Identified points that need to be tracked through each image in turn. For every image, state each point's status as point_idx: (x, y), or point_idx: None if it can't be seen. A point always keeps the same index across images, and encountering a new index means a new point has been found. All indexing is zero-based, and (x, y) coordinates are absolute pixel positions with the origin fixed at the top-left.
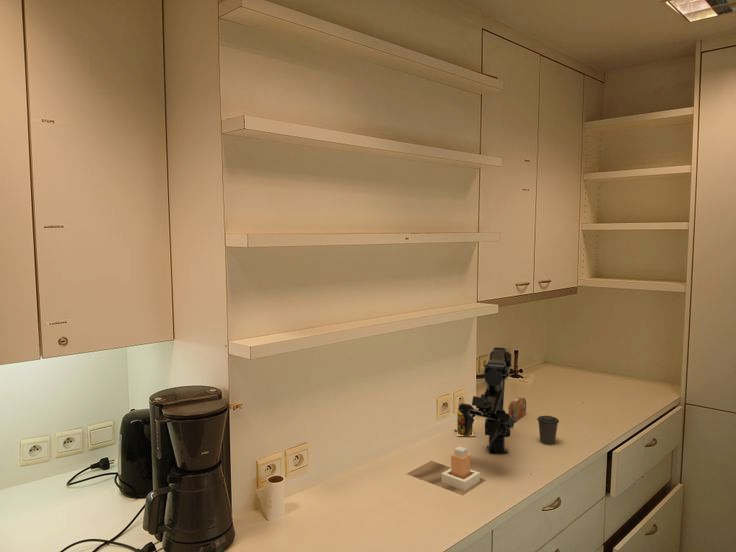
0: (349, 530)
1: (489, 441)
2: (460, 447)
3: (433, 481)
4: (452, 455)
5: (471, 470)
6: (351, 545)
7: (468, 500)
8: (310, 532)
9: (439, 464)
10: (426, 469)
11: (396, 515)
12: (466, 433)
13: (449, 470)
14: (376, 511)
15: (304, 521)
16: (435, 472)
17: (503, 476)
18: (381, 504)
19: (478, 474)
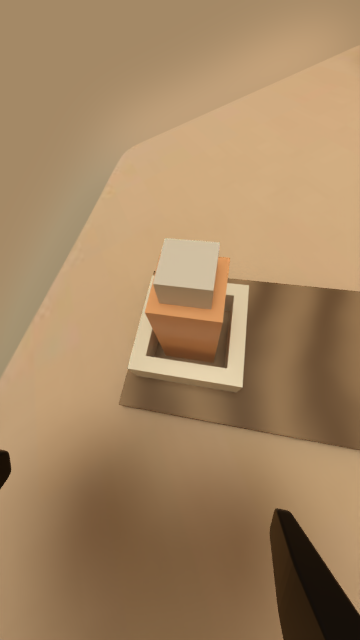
0: (278, 109)
1: (2, 450)
2: (198, 277)
3: (267, 295)
4: (222, 258)
5: (164, 368)
6: (247, 95)
7: (141, 279)
8: (320, 85)
9: (346, 438)
10: (349, 360)
11: (246, 164)
12: (278, 537)
13: (238, 321)
14: (287, 155)
15: (356, 92)
16: (305, 355)
17: (75, 515)
18: (299, 174)
19: (131, 359)
